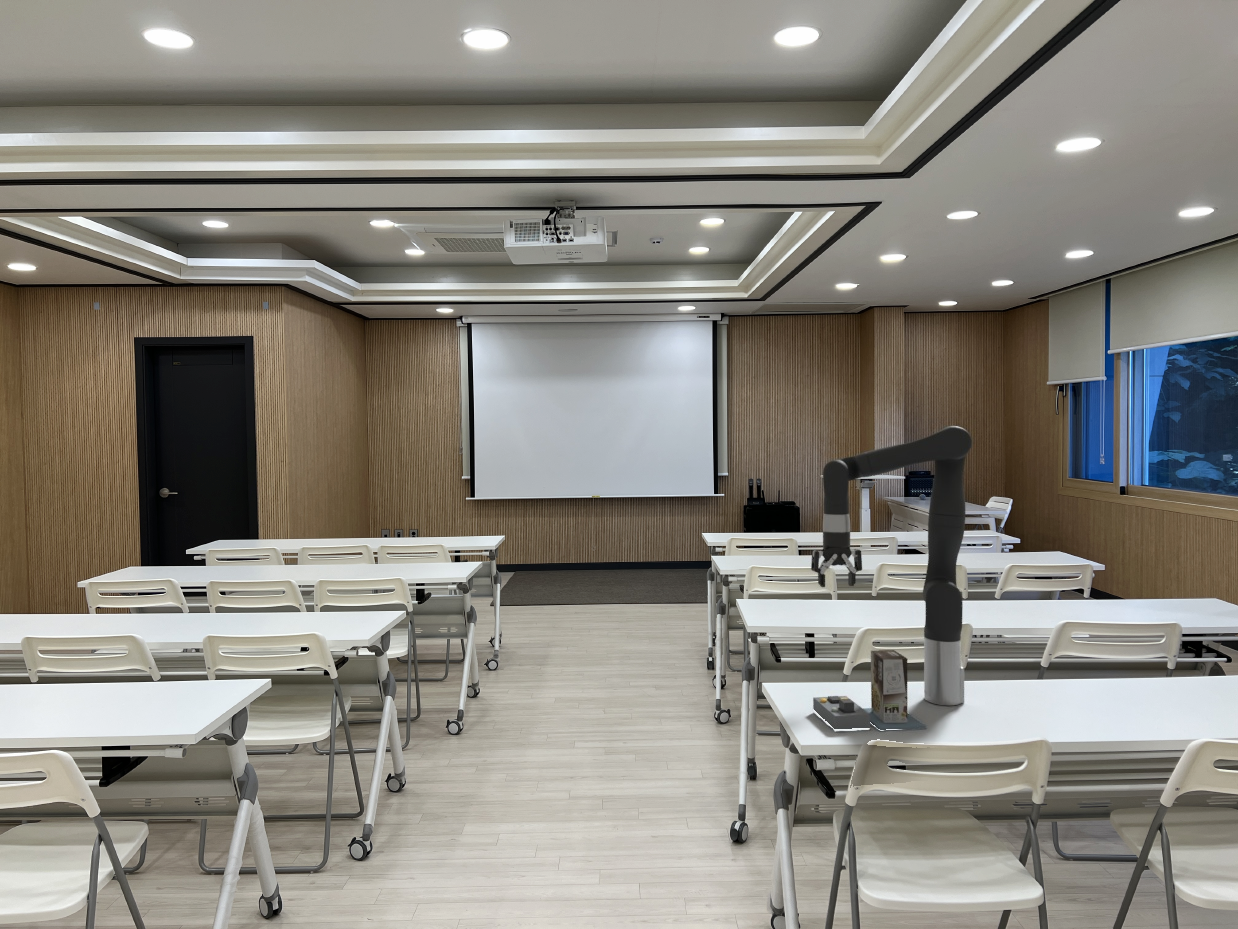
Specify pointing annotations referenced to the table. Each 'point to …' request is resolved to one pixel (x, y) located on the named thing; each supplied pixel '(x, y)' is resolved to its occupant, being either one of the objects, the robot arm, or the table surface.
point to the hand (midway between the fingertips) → (836, 586)
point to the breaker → (846, 705)
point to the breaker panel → (841, 714)
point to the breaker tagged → (833, 699)
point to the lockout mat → (911, 723)
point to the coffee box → (889, 686)
